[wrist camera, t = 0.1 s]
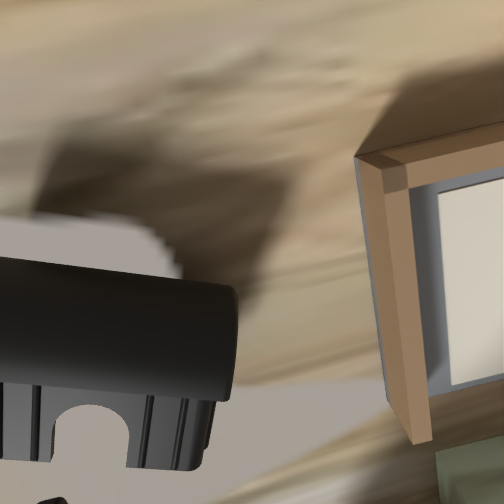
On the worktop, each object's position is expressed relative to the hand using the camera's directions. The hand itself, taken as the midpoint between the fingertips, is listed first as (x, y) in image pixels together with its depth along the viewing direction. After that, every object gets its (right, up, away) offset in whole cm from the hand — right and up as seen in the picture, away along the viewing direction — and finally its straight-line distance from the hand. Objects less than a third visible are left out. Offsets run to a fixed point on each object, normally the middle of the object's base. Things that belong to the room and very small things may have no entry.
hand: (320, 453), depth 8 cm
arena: (+12, +3, +16) cm, 20 cm away
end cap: (-8, +1, +15) cm, 17 cm away
